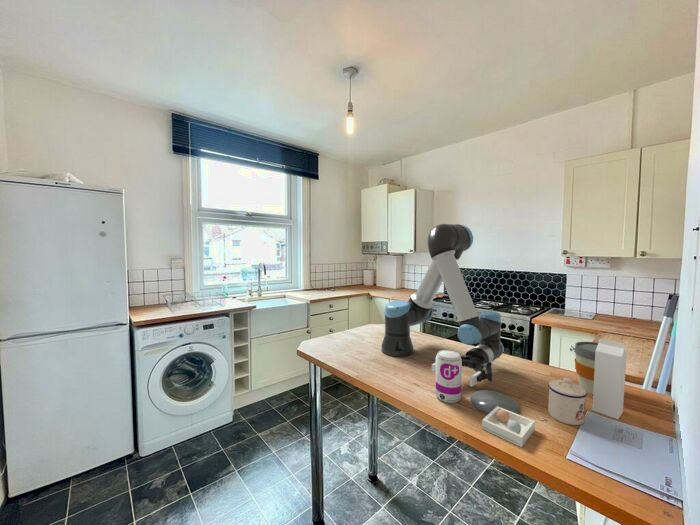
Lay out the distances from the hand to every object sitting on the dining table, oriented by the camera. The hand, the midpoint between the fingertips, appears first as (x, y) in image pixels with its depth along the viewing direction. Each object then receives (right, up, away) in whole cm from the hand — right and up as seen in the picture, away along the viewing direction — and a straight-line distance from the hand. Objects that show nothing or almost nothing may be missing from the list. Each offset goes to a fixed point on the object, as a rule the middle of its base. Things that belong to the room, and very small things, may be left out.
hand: (450, 374), depth 97 cm
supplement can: (0, -8, +1) cm, 8 cm away
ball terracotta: (+10, -7, -14) cm, 18 cm away
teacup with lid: (+31, -9, -9) cm, 34 cm away
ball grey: (+11, -7, -19) cm, 22 cm away
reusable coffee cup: (+52, -7, +5) cm, 53 cm away
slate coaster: (+13, -8, -3) cm, 15 cm away
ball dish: (+11, -9, -16) cm, 21 cm away
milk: (+45, -8, -8) cm, 46 cm away
